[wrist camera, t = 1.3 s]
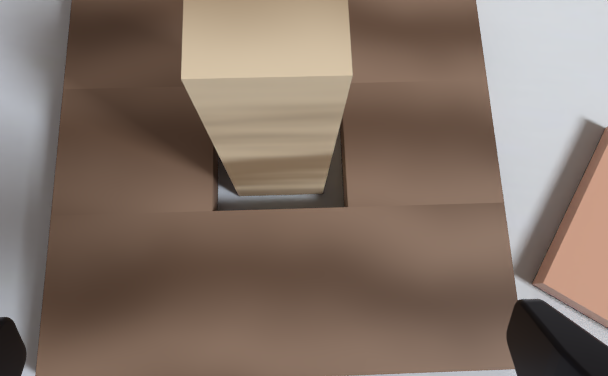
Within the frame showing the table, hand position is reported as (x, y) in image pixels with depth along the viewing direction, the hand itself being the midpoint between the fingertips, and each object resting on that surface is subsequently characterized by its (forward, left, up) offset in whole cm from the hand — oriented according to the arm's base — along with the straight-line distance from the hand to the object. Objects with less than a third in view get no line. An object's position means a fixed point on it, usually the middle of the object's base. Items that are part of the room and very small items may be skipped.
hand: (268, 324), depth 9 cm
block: (+6, +4, -13) cm, 15 cm away
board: (+6, +4, -13) cm, 15 cm away
